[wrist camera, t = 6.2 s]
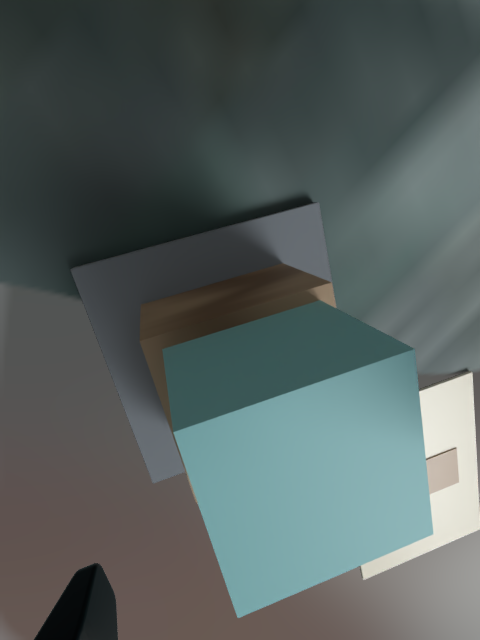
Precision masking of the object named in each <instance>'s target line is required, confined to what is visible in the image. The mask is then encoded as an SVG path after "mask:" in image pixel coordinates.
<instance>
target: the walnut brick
mask: <svg viewBox="0 0 480 640" xmlns="http://www.w3.org/2000/svg"><path fill="white" fill-rule="evenodd" d="M319 300H321V301H323V302H325V303H327V304H329V305H331V306H333V307H334V308H336V304H335V298H334V292H333V286H332V282H330V281H327V280H325V279H322V278H319V277H317V276H314V275H312V274H309V273H307V272H304V271H302V270H299V269H296V268H294V267H291V266H289V265H286V264H284V263H282V264H279V265H275V266H272V267H268V268H265V269H262V270H258V271H255V272H251V273H248V274H244V275H241V276H238V277H234V278H231V279H227V280H224V281H220V282H217V283H214V284H210V285H207V286H203V287H200V288H196V289H193V290H189V291H186V292H183V293H179V294H176V295H172V296H169V297H165V298H162V299H159V300H155V301H152V302H148V303H145V304H141V311H140V344H141V347H142V349H143V352H144V355H145V358H146V361H147V364H148V367H149V369H150V372H151V375H152V378H153V381H154V384H155V387H156V389H157V392H158V395H159V398H160V401H161V404H162V407H163V409H164V412H165V415H166V418H167V421H168V424H169V427H170V429H171V432H172V435H173V438H174V441H175V444H176V447H177V449H178V452H179V455H180V458H181V461H182V464H183V467H184V469H185V472H186V475H187V478H188V480H189V483H190V487H191V489H192V492H193V495H194V498H195V500H196V503H198V502H197V499H196V496H195V494H194V491H193V488H192V485H191V482H190V479H189V476H188V473H187V471H186V468H185V465H184V462H183V459H182V456H181V453H180V450H179V448H178V445H177V442H176V439H175V436H174V433H173V427H172V419H171V412H170V404H169V397H168V389H167V382H166V374H165V367H164V359H163V351H162V349H164V348H168V347H171V346H174V345H177V344H180V343H184V342H187V341H190V340H193V339H197V338H200V337H203V336H206V335H209V334H213V333H216V332H219V331H222V330H226V329H229V328H232V327H235V326H238V325H242V324H245V323H248V322H251V321H254V320H258V319H261V318H264V317H267V316H271V315H274V314H277V313H280V312H283V311H287V310H290V309H293V308H296V307H300V306H303V305H306V304H309V303H312V302H316V301H319Z"/></svg>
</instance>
